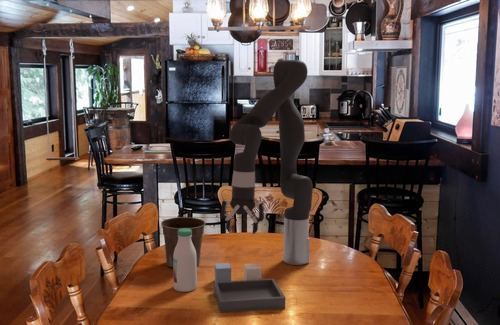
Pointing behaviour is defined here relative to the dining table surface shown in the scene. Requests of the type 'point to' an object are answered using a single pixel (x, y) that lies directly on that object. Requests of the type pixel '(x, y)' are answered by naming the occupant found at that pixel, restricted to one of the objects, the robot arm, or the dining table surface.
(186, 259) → the milk bottle
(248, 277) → the cream block
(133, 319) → the dining table surface
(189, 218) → the plant pot
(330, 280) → the dining table surface
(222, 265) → the slate blue block
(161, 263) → the dining table surface
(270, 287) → the dark grey tray
